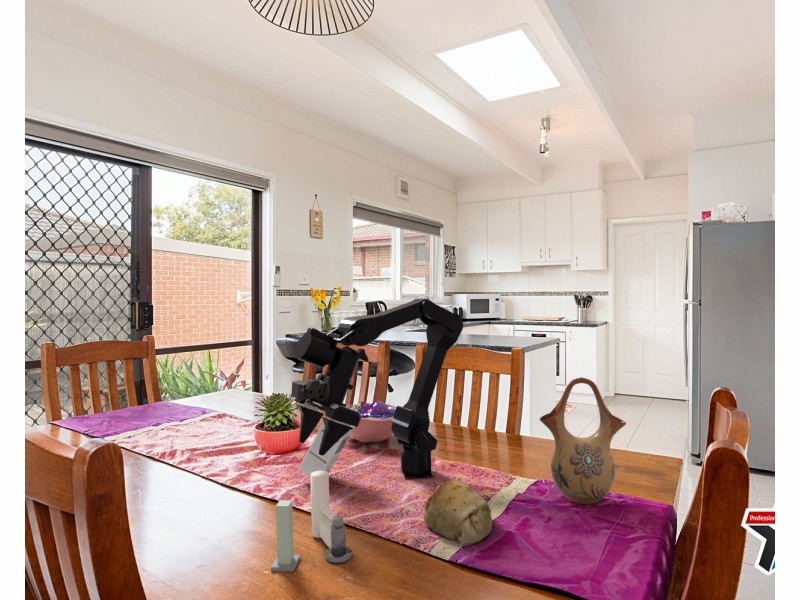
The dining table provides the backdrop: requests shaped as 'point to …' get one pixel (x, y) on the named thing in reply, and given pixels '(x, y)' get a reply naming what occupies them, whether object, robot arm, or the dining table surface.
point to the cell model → (373, 421)
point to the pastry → (458, 513)
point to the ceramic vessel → (582, 452)
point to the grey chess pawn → (338, 547)
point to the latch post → (285, 538)
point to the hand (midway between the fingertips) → (310, 448)
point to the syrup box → (320, 462)
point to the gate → (322, 508)
